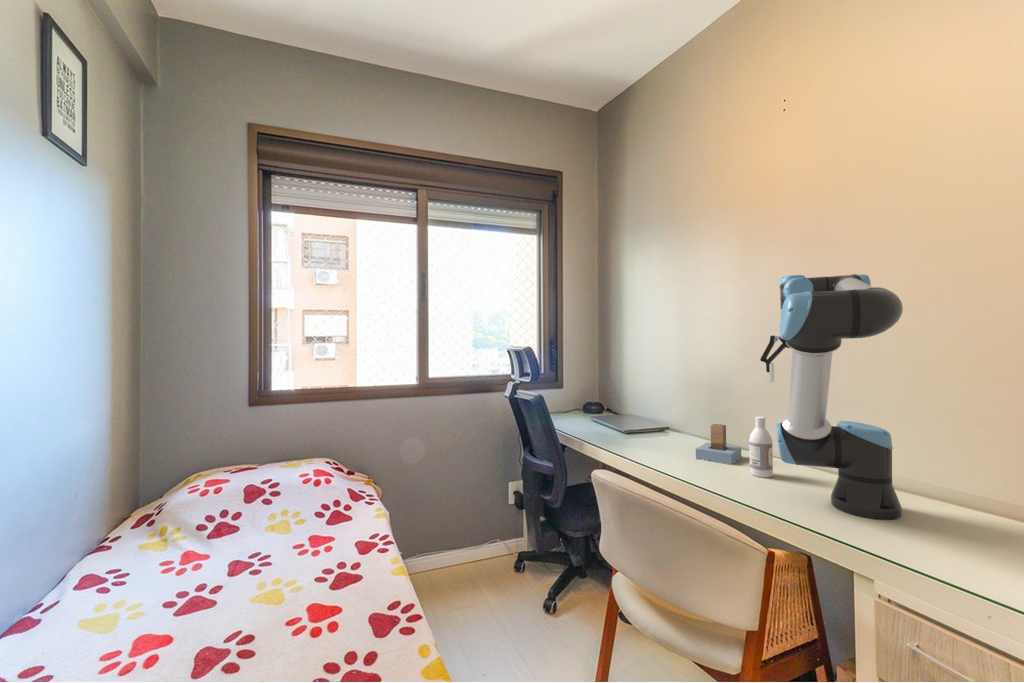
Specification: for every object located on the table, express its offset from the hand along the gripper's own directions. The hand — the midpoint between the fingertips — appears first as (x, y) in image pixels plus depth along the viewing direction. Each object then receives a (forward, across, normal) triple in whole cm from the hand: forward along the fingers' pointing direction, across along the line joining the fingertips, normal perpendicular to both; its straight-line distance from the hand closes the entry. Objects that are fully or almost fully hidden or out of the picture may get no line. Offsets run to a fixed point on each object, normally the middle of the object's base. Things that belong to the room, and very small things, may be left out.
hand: (794, 383), depth 151 cm
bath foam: (+32, +9, +7) cm, 34 cm away
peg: (+32, +27, -6) cm, 42 cm away
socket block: (+32, +27, -6) cm, 42 cm away
